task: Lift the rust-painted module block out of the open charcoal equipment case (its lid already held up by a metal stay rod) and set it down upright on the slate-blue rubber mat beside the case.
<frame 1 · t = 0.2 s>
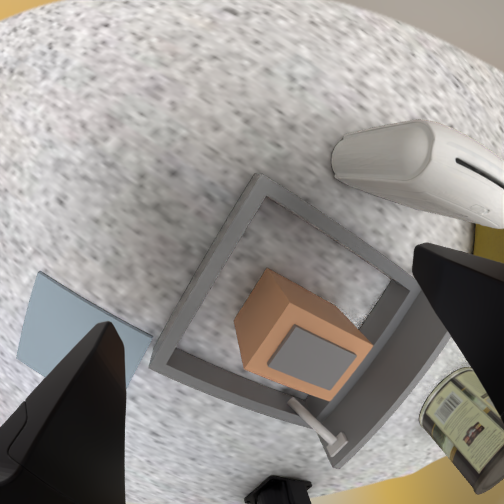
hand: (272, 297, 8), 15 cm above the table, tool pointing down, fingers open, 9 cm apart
module: (286, 313, 26), resting in case
coffee can: (449, 398, 33), on the table
mat: (76, 348, 24), on the table
flower pot: (485, 235, 27), on the table
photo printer: (384, 173, 24), on the table
case: (286, 313, 26), on the table
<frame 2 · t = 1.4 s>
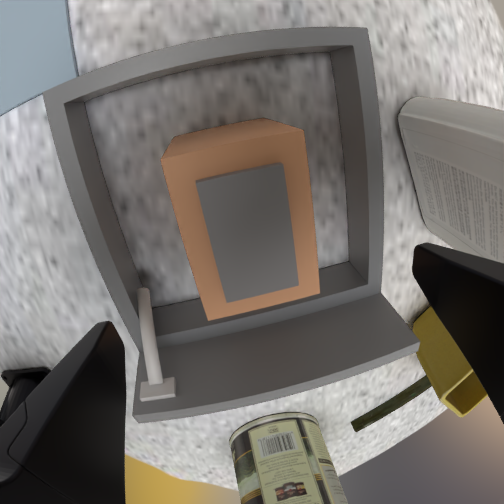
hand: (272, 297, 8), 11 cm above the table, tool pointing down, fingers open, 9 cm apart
module: (230, 185, 18), resting in case
coffee can: (274, 435, 32), on the table
rod: (456, 349, 32), on the table
flower pot: (436, 313, 27), on the table
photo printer: (428, 164, 20), on the table
case: (231, 185, 18), on the table
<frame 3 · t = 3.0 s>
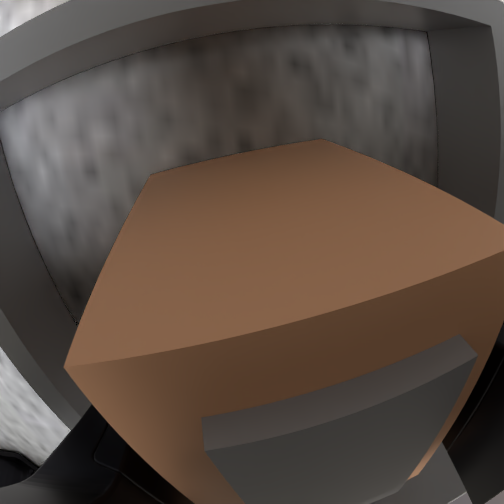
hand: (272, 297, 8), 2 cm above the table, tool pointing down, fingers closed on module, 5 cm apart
module: (258, 261, 10), resting in case, touching gripper
case: (259, 261, 10), on the table
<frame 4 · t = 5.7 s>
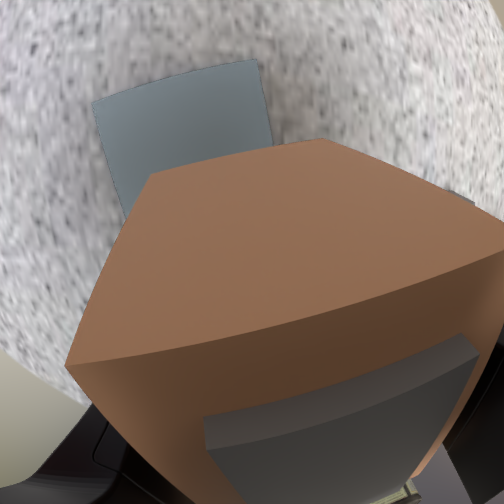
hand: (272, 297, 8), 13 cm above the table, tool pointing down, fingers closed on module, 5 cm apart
module: (259, 260, 10), point 11 cm above the table, touching gripper
coffee can: (353, 440, 39), on the table
mat: (192, 162, 19), on the table
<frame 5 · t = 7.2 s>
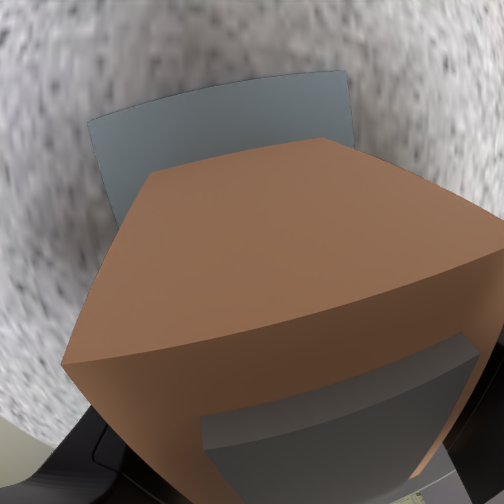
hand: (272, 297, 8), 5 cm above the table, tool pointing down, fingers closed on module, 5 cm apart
module: (258, 260, 10), point 3 cm above the table, touching gripper
coffee can: (373, 478, 34), on the table
mat: (243, 219, 13), on the table
case: (430, 356, 21), on the table
when the fingers open (3 cm above the table, at t = 8.5 s): module stays where it is, resting on mat.
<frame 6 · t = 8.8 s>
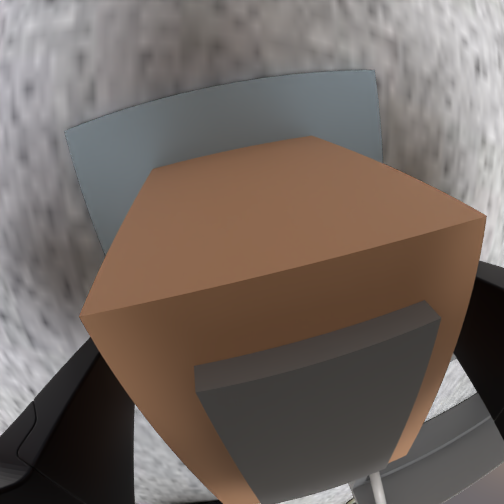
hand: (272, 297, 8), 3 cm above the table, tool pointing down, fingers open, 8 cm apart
module: (253, 250, 11), resting on mat
mat: (252, 244, 11), on the table
case: (444, 376, 19), on the table
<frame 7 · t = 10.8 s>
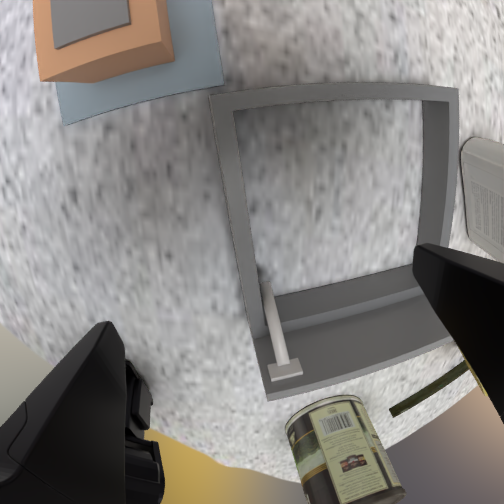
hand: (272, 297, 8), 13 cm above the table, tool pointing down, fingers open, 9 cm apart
module: (125, 19, 13), resting on mat
coffee can: (324, 418, 35), on the table
rod: (475, 349, 36), on the table
mat: (127, 20, 14), on the table
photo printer: (474, 189, 23), on the table
case: (343, 198, 21), on the table
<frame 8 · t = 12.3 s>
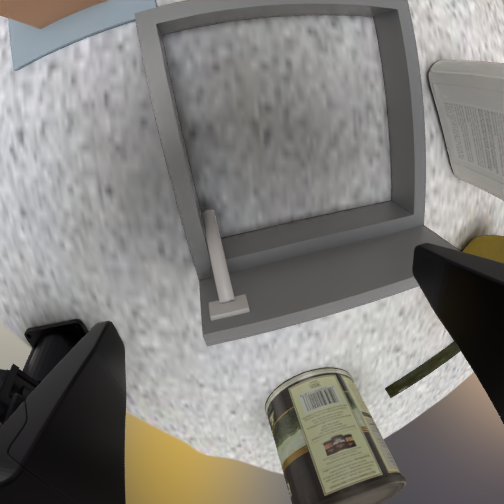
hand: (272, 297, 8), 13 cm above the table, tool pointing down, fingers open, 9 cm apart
coffee can: (310, 397, 32), on the table
rod: (478, 318, 33), on the table
flower pot: (462, 265, 28), on the table
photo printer: (452, 119, 20), on the table
case: (294, 119, 19), on the table
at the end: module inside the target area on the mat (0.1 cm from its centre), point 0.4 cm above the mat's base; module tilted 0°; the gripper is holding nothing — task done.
